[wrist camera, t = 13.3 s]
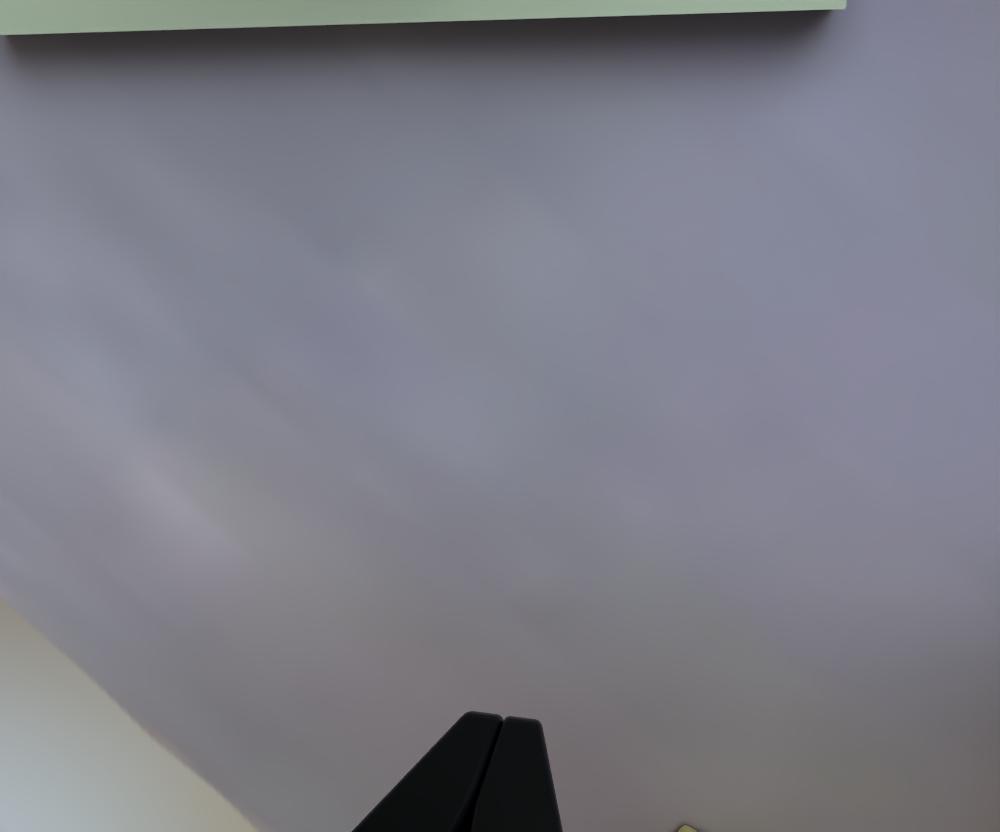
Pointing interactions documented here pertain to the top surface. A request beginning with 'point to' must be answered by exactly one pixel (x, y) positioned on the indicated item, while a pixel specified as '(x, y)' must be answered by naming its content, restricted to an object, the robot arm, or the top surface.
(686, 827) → the candy box
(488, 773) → the robot arm
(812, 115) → the top surface
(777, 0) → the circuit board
